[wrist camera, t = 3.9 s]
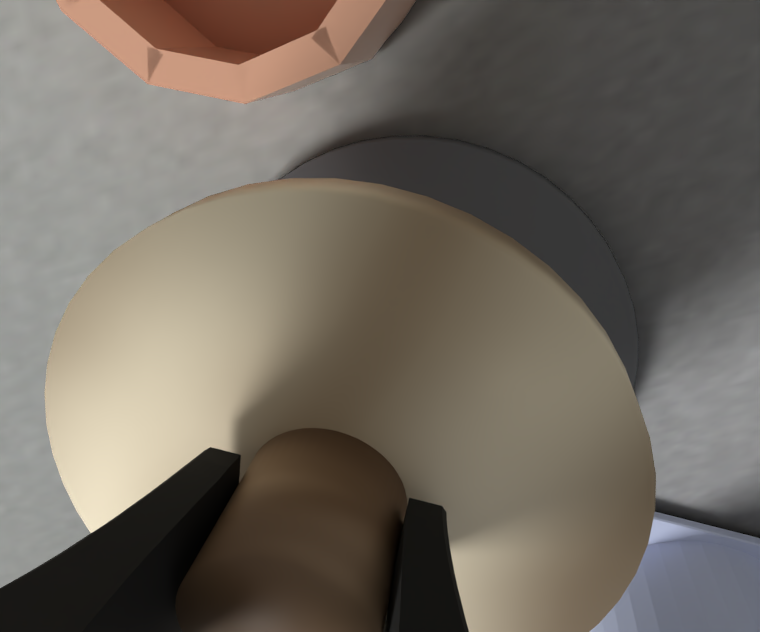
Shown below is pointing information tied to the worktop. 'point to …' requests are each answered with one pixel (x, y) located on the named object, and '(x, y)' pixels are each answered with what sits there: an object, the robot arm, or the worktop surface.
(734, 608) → the robot arm
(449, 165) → the mat
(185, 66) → the ring
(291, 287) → the lid
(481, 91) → the worktop surface
